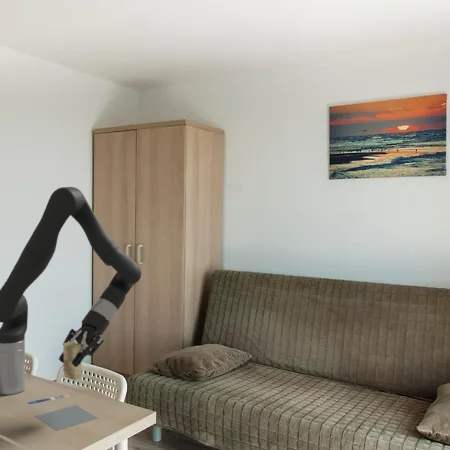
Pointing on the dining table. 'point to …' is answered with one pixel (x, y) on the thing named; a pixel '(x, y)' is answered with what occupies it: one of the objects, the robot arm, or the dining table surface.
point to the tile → (69, 354)
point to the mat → (66, 417)
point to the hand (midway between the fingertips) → (67, 363)
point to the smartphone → (51, 398)
